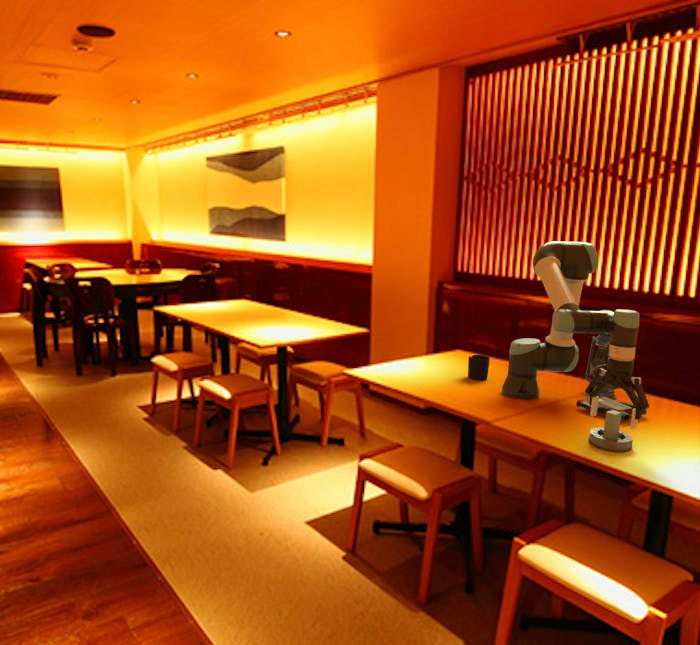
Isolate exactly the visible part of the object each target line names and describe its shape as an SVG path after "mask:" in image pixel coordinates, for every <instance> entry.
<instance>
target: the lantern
mask: <svg viewBox="0 0 700 645" xmlns="http://www.w3.org/2000/svg"><path fill="white" fill-rule="evenodd" d="M610 338H611V336H610V335H608V334H597V336H595V335H593V336H592V337H591V339H592V340H591V345H590V350H589V356H588V362H587V365H586V366H587V367H586V372H585V380H586V381H587V383H588V384H587V386H588V385H589V384H590V382H591V381H592V380H593V379H591V377H593V378H594V377H595V375H596V372H597V369H600V368H604V370H606V371H607V362H608V358H609V357H610V356H609V346H610ZM596 346H598V348H597V351H596V354H595V352H594V351H595V348H596ZM594 354H595V356H594ZM593 357H594V359H593ZM590 376H591V377H590ZM606 379H607V377H606V375H604V376H602V378H601V379H600V381H599V382H598V384H597V385H596V386H595V388H594V389H593V391H594V390H595V389H596V388H597V387H598V386H600V385H601V384H602V383H603V382H604V381H605V380H606ZM618 389H619V388H618V387H616V386H611V384H610V385H608V386H607V387H606V388H605V389H603V390H602V391H601V392H600V393H598V394H597V395H596V396H599V398H602V397H607V398H609V399H614V400H616V399H617V396H616V390H618ZM584 395H585V396H586V397H588V398H589V397H590V395H589V394H588V393H585V392H584ZM615 398H616V399H615Z"/></svg>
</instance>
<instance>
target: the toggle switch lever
mask: <svg viewBox="0 0 700 645" xmlns="http://www.w3.org/2000/svg"><path fill="white" fill-rule="evenodd" d="M621 414H622V413H621V412H618V411H615V410H611V411H608V412H606V416H605V418H604V419H605V420H604V427H603V428H604V433H603V434H602V435H600V436H602V437H605V438H608V439H613V440H622V439H621V438H619V437H618V436H619V431H620V428H621V422H622V421H621Z"/></svg>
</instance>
